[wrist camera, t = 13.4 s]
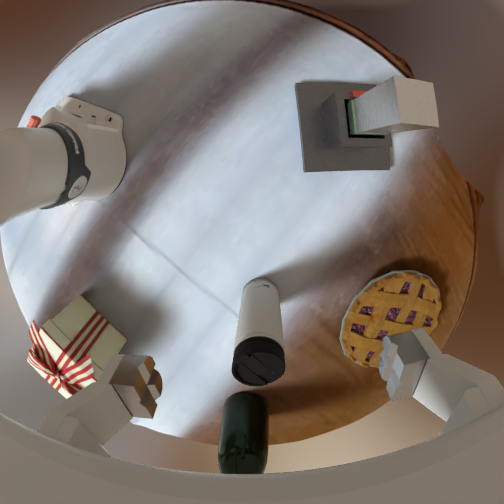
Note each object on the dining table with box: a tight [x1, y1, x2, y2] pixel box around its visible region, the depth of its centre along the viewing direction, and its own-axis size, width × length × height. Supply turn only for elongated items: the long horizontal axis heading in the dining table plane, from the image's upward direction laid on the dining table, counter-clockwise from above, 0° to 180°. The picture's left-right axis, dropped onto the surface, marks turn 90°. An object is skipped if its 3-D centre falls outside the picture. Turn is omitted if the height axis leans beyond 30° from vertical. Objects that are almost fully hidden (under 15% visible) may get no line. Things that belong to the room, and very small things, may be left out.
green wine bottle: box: [218, 393, 269, 474], centre depth 42 cm, size 10×10×33 cm
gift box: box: [27, 295, 127, 399], centre depth 45 cm, size 17×18×17 cm
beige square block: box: [345, 76, 439, 137], centre depth 25 cm, size 4×4×17 cm
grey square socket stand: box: [295, 83, 392, 172], centre depth 34 cm, size 14×14×11 cm
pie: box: [340, 270, 442, 368], centre depth 47 cm, size 22×22×5 cm
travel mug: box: [232, 278, 285, 386], centre depth 39 cm, size 6×7×20 cm
